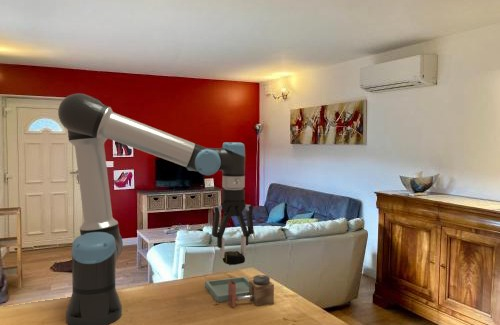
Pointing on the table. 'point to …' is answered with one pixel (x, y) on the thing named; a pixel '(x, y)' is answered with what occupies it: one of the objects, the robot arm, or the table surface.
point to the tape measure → (233, 258)
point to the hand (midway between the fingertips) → (232, 255)
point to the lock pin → (232, 294)
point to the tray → (220, 288)
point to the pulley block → (261, 290)
